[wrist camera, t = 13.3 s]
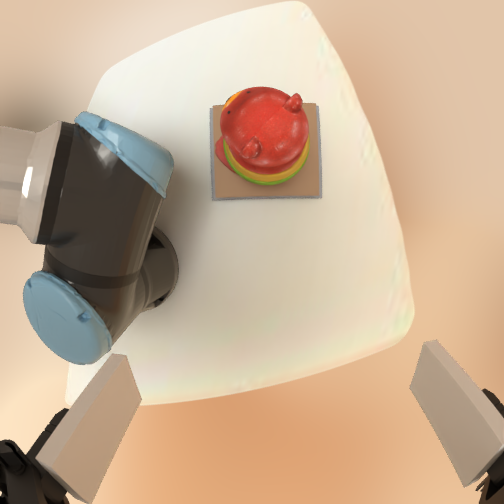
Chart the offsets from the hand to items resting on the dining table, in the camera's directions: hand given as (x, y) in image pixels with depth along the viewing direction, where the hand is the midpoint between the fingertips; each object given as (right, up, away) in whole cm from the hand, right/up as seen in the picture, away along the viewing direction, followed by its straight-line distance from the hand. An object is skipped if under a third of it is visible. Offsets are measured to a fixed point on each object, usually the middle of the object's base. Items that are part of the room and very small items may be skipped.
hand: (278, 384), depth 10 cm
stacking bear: (+1, +19, +25) cm, 31 cm away
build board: (+1, +20, +29) cm, 35 cm away
